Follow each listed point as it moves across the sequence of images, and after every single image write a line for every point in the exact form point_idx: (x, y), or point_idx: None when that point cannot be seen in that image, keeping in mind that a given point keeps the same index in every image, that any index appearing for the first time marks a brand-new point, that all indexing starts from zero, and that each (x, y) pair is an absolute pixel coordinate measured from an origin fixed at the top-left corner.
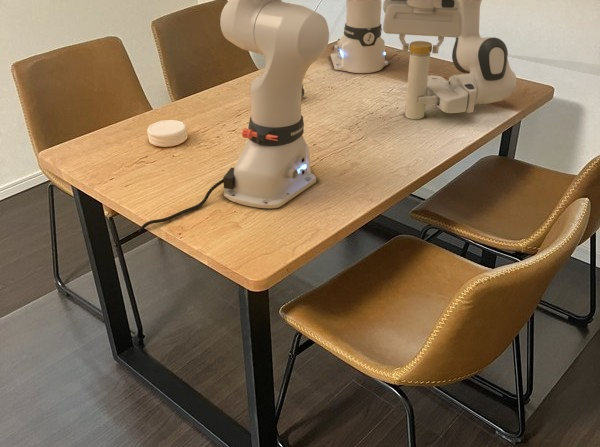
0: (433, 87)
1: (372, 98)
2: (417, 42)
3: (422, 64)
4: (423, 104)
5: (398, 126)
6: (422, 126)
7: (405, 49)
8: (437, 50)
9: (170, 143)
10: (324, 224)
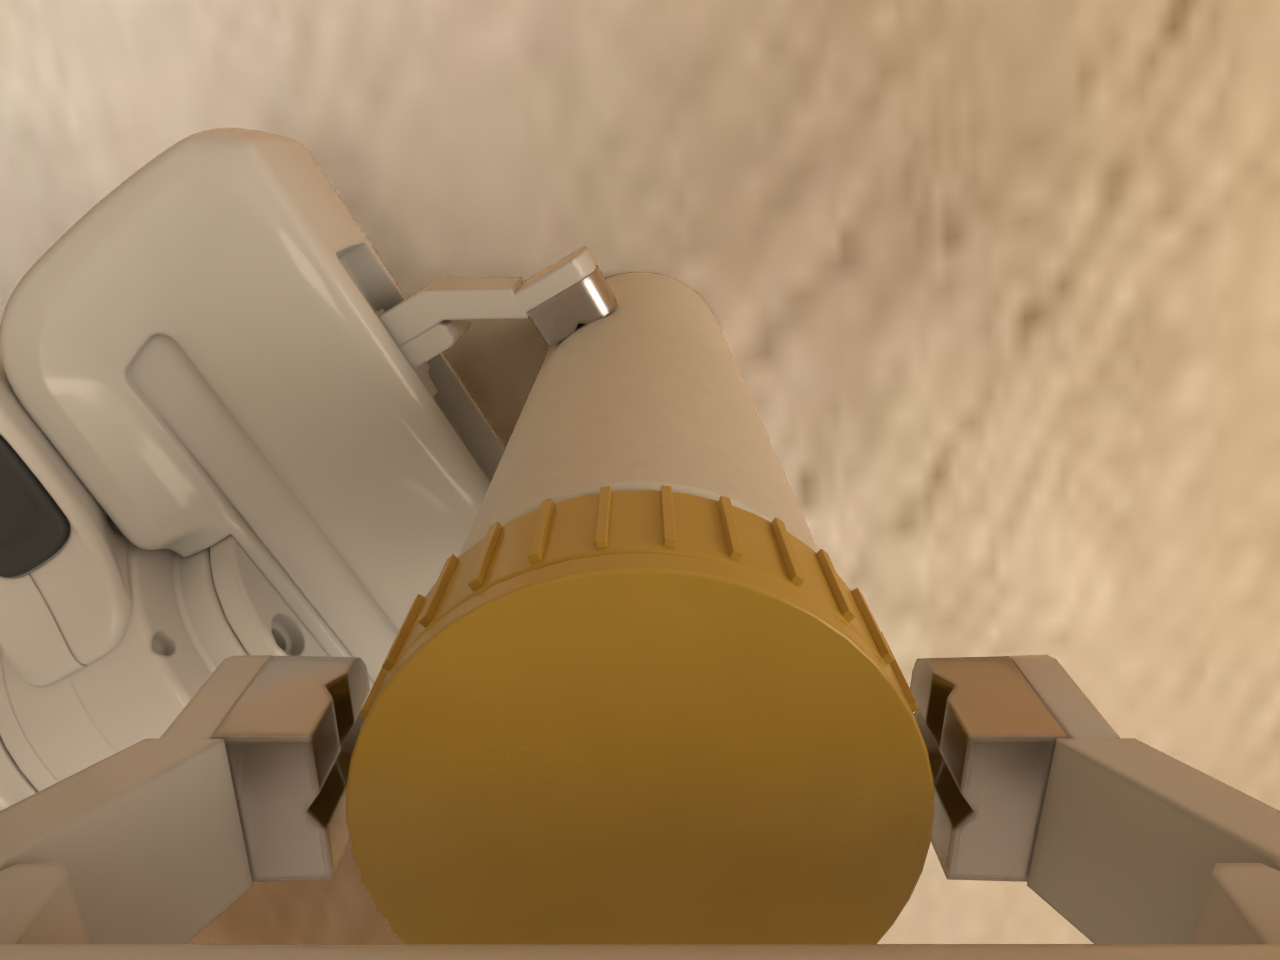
0: (459, 531)
1: (1028, 651)
2: (741, 929)
3: (562, 441)
4: None
5: (762, 55)
6: (536, 113)
7: (994, 674)
8: (214, 683)
9: None
10: None
